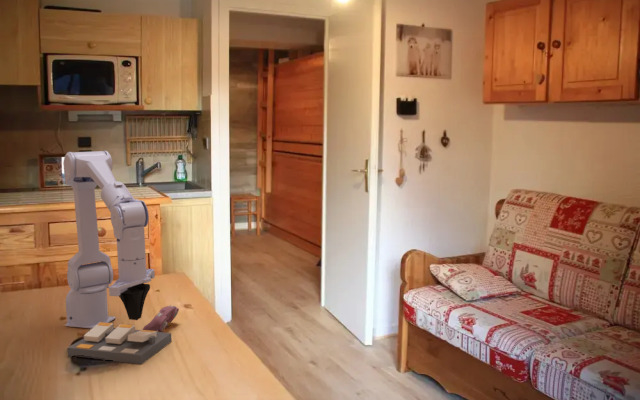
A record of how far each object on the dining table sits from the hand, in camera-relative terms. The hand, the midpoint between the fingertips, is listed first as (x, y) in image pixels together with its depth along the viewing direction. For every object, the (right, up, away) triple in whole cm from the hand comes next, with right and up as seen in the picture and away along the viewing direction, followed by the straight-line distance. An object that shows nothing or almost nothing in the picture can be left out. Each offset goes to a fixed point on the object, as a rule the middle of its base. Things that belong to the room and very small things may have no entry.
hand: (135, 318), depth 124 cm
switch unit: (-5, -8, +5) cm, 10 cm away
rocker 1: (-10, -4, +6) cm, 12 cm away
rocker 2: (-5, -4, +4) cm, 8 cm away
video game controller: (+1, -6, +17) cm, 18 cm away
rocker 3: (+1, -5, +3) cm, 6 cm away
